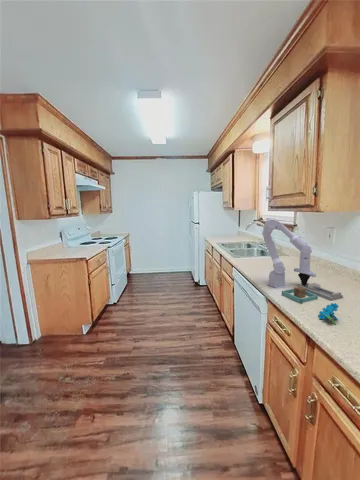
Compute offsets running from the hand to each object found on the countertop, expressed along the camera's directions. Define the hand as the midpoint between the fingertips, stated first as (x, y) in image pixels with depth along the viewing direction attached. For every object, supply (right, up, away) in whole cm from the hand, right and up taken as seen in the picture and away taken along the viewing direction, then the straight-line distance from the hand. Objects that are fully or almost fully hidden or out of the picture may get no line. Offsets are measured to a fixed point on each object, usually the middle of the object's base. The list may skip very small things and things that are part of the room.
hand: (303, 285), depth 146 cm
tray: (-10, -4, -14) cm, 18 cm away
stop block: (-10, -4, -14) cm, 17 cm away
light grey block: (+2, -2, -6) cm, 7 cm away
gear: (-10, -8, -39) cm, 41 cm away
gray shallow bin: (+4, -3, -9) cm, 10 cm away
